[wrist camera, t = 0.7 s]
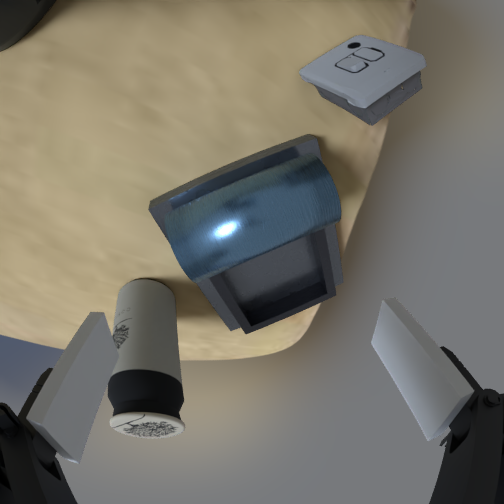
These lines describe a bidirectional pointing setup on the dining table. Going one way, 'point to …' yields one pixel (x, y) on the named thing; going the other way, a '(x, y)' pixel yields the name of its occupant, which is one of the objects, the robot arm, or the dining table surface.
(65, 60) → the dining table surface
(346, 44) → the electrical switch
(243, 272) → the base
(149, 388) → the travel mug
